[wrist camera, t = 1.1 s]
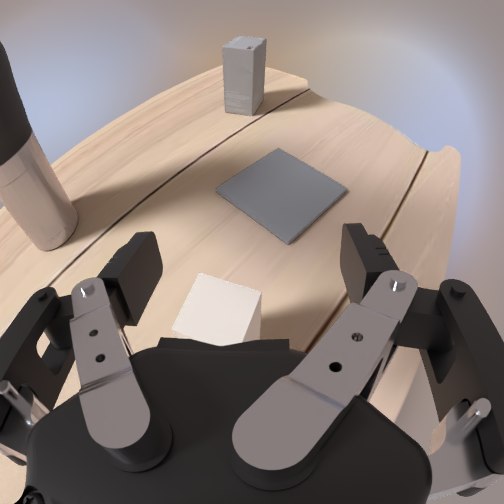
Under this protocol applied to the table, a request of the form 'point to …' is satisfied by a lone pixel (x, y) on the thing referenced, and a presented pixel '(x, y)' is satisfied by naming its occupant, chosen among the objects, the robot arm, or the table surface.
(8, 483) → the table surface
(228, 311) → the cream block
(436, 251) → the table surface
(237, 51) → the skincare box
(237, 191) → the grey mat
